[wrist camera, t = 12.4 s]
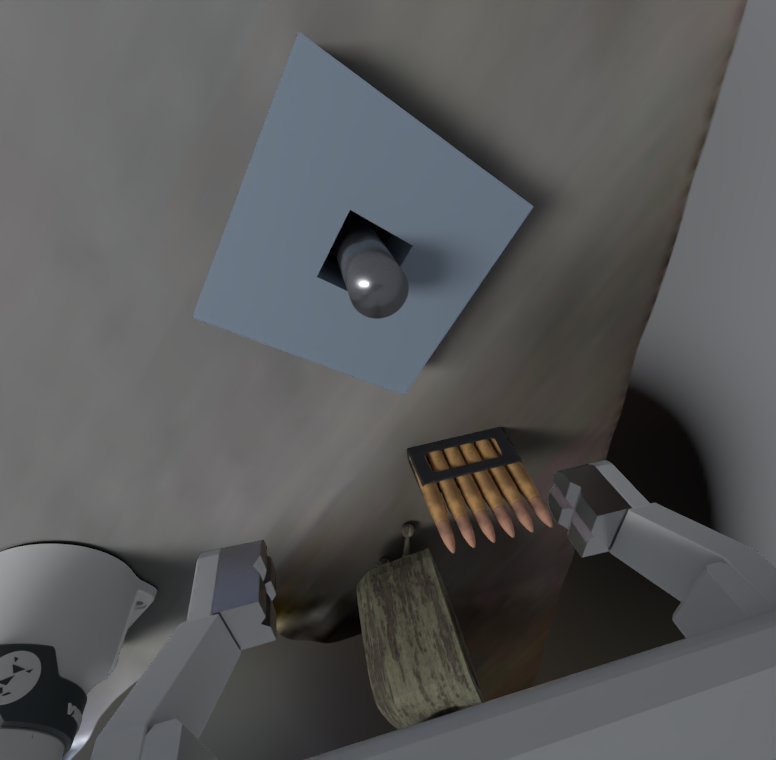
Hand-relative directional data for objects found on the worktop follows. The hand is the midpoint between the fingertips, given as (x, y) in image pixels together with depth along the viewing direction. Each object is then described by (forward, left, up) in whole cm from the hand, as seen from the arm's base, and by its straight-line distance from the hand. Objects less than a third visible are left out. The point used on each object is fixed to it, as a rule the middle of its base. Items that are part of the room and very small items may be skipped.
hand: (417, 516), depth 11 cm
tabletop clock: (-31, -25, -24) cm, 46 cm away
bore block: (+2, -1, -23) cm, 23 cm away
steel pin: (+2, -1, -23) cm, 23 cm away
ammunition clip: (-12, -21, -24) cm, 34 cm away
